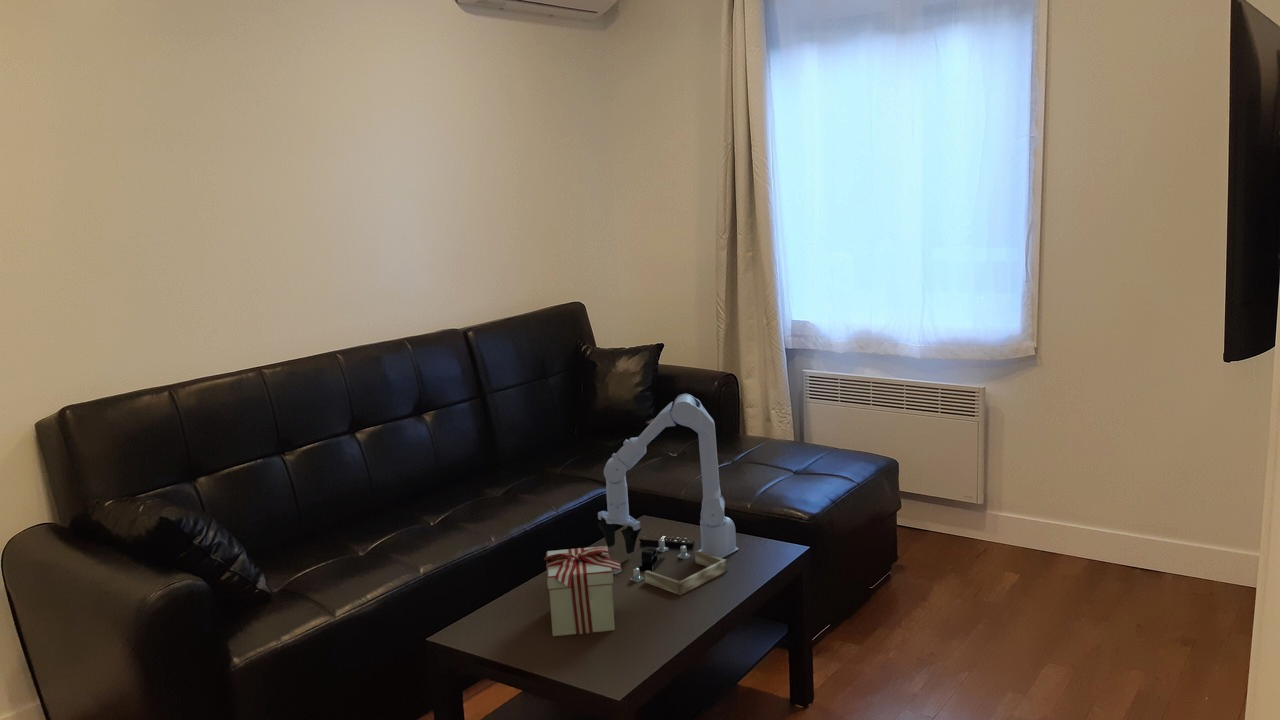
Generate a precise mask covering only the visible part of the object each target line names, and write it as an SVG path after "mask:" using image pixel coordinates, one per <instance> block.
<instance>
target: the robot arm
mask: <svg viewBox="0 0 1280 720" xmlns="http://www.w3.org/2000/svg"><path fill="white" fill-rule="evenodd" d="M676 425H681V426H683V427H687V428H690V429H692V430H693V431H694V432H696V433H697V434H698V436H697V437H698V449H699V459H700V460H699V461H700V474H701V485H702V486H701V487H702V500H701V511H700V519H699V524H700V525H699V526H700V527H699V528H700V545H701V547H700V549H699V550H697V551H699V552H703V553H706V554H709V555H712V556H716V557H719V558H722V559H724V558H726V557H728V556H729V555H731V554H733V553H735V552H736V551H739V547H738V546H737V540H736V539H737V537H736V536H737V535H736V526H735V523H734V521H733V520H732V519H731V518H730V517H728V516H725V506H726V502H725V498H724V497H723V496H722V494H721V486H720V476H719V474H720V473H719V461H718V451H717V450H718V449H717V436H716V425H715V421H714V419H713V417H712V416H711V415H710V414H709V413H708V411H707V410H706V408H705V407H704V406H703V404H702V402H701V401H700V400H699V399H698V398H696V397H694V396H693V395H691V394H689V393H683V394H679V395H677V397H676V398H675V399H674V401H671V402H669V403H668V404H667V405H666V406H665V407H664V408H663V409H662V410H660V412H659V413H658V414H657V415H656V417H655V418H654V419H653V420H651V422H650V424H649V425H648V426H646V428H645V429H644V430H643V431H642V432H641V433H640V435H638V436H636V437H630V438H629V439H627V438H626V439H625V440H624V441H623V446H621V447H620V448H619V449H618V451H617V452H616V453H615V452H614V453H612V454H611V457H610V458H609V459H608V460H607V462H606V463H605V466H604V467H603V477H604V478H605V484H606V485H605V492H606V493H605V495H606V504H607V505H606V506H607V511H606V510H601V511H598V512H597V519H598V520H600V521H599V522H598V523H597V526H598V528H599V529H600V531H601V533H602V535H603V537H604V540H605V543H606V546H607V547H608V548H612V547H613V546H615V544H616V543H615V542H616V527H617V526H616V525H621V526H623V527H626V528H623V529H621V531H620V532H621V534H622V536H623V539H624V543H625V550H626V551H625V552H626V553H627V554H630V555H631V554H632V553H634V552H635V547H636V543H637V539H638V536H639V534H640V533H641V530H642V526H641V521H639V520H636V519H635V518H634V517H633V516H631V515H630V511H629V509H630V507H629V496H628V494H629V493H628V484H627V476H626V473H627V471H629V470H631V469H633V467H634V466H635V465H636V464H637V463H638V462H639V461H640V460H641V459H642V458H643V457H644V456H645V455H646V453H647V446H648V445H649V444H650V443H651V442H652V440H654V439H655V438H656V437H657V436H659V434H660V433H661V432H662V431H664V430H665V428H668V427H676Z"/></svg>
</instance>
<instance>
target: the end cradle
mask: <svg viewBox="0 0 1280 720" xmlns="http://www.w3.org/2000/svg"><path fill="white" fill-rule="evenodd" d="M694 557H695V558H694V560H695V561H694V562H695V564H698V565H702V566H704V568H703V569H701V570H699V571H697V572H695V573H693V574H691V575H689V576H687V577H685V578H684V579H681V580H677V579H674V578H671V577H668V576H666V575H663V574H660V573H656V572H655V571H654V572H651V571H648V570H647V571H644V582H645V584H648V585H651V586H653V587H657V588H659V589H663V590H665V591H668V592H670V593H673V594H676V595H679V596H682V595H684V594H686V593H688V592H689V591H691V590H693V589H695V588H697V587H699V586H701V585H703V584H705V583H707V582H709V581H711V580H713V579H715V578H717V577H719V576H720V575H722V574H724V573H726V572H728V560H727V559H725V558H719V557H716V556H712V555H709V554H706V553H703V552H699V551H698V550H696V551H694ZM705 567H706V568H705Z"/></svg>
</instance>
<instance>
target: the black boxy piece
mask: <svg viewBox="0 0 1280 720" xmlns="http://www.w3.org/2000/svg"><path fill="white" fill-rule="evenodd" d="M656 548H657V547H651V546H645V548H644V549H643V550H642V551H641V562H640V563H639V564H638V565H637V566H636V567H638V568H639V571H640V572H641V571H643V572H645V571H647V570H648V571H651V572H654V573H655V572H656V570H657V569H658V567H660V566H661V564H662V563H663V562H664V561H665V560H666V557H660V556H658V551H657V550H656Z"/></svg>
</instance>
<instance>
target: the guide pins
mask: <svg viewBox="0 0 1280 720" xmlns="http://www.w3.org/2000/svg"><path fill="white" fill-rule="evenodd" d="M655 548H656V550H657V552H659V553H664V552H667V551H669V547H667V546H666V543H665V539H664V538H659V539H658V547H655ZM679 549H680V553H679V554H677V558H678V559H681V560H687V559H689V558H690V557H691V554H689V553H688V552H687V545H683V544H682V545H680V548H679ZM614 560H615V561H618V559H614ZM632 571H633V576H631V577H629V579H630V581H632V582H635V583H639V582H641V581H643V580H645V577H644V576H642V575H641V574H640V572H641V571H639V568H638V567H637V566H636V567H633V568H632ZM612 572H613V575H617V574H619V573H622V572H623V570H622V568H621V570H617V569H612Z"/></svg>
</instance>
